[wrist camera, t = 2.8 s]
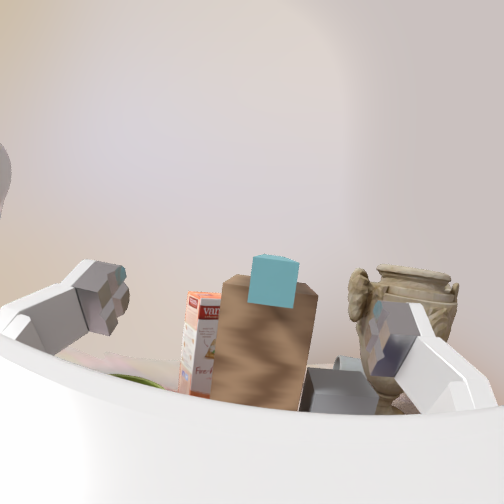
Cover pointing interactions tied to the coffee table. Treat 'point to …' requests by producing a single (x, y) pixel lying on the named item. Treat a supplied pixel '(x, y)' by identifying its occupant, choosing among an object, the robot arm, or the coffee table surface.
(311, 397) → the grey block
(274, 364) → the walnut tower
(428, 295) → the urn
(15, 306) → the robot arm
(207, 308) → the cracker box
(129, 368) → the coffee table surface
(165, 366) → the coffee table surface
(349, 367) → the ceramic mug
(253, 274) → the teal bar
